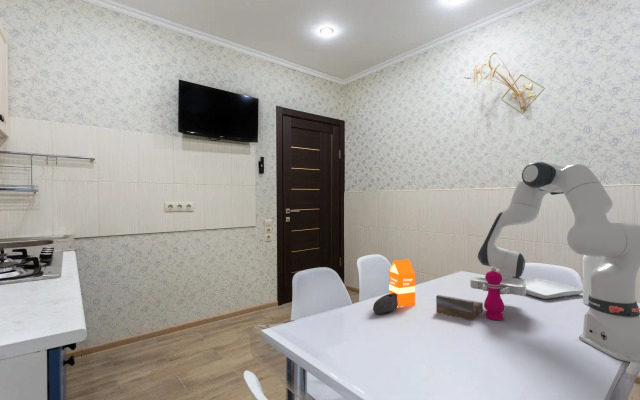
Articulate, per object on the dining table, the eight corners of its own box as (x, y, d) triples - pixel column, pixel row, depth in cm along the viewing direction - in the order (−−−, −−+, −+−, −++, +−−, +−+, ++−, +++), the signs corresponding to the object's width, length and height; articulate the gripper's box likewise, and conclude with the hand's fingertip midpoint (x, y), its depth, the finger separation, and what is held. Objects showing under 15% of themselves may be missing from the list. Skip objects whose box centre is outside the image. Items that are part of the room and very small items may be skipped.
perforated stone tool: (378, 318, 130) (378, 300, 130) (368, 314, 134) (368, 297, 134) (401, 310, 139) (401, 294, 139) (392, 307, 143) (391, 291, 143)
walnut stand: (449, 303, 148) (449, 287, 148) (482, 309, 139) (482, 293, 139) (436, 312, 135) (436, 295, 135) (472, 320, 126) (472, 302, 126)
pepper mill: (499, 314, 132) (498, 265, 132) (508, 321, 125) (507, 269, 125) (481, 314, 132) (480, 265, 133) (488, 320, 125) (487, 269, 125)
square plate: (497, 287, 175) (496, 280, 175) (535, 283, 183) (535, 276, 183) (545, 302, 149) (545, 294, 149) (587, 296, 157) (587, 288, 157)
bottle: (578, 301, 148) (577, 236, 148) (594, 301, 149) (593, 236, 149) (593, 307, 140) (592, 238, 140) (611, 307, 141) (610, 238, 141)
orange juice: (415, 305, 145) (414, 260, 145) (399, 307, 142) (398, 262, 142) (404, 300, 152) (404, 258, 153) (388, 302, 149) (388, 259, 149)
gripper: (474, 272, 145) (465, 278, 135) (528, 279, 132) (523, 286, 121) (474, 286, 145) (465, 293, 134) (528, 294, 132) (523, 303, 121)
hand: (493, 290), depth 128 cm, fingers closed on pepper mill, 5 cm apart
